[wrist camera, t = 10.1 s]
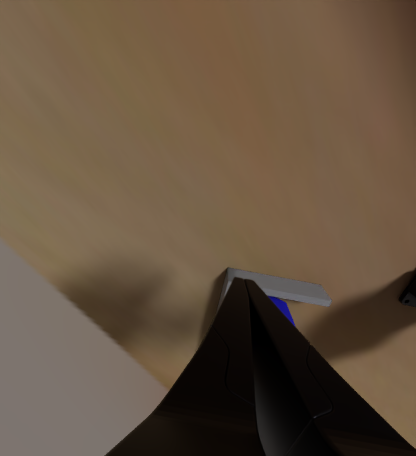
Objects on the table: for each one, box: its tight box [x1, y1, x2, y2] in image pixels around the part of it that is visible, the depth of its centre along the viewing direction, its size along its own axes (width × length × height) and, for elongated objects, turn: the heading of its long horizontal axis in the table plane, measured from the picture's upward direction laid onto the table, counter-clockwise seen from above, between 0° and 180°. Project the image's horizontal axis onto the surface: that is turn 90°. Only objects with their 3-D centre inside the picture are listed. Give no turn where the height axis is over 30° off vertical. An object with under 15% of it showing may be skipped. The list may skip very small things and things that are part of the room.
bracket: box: [216, 268, 332, 313], centre depth 26 cm, size 11×22×2 cm, turn 170°
